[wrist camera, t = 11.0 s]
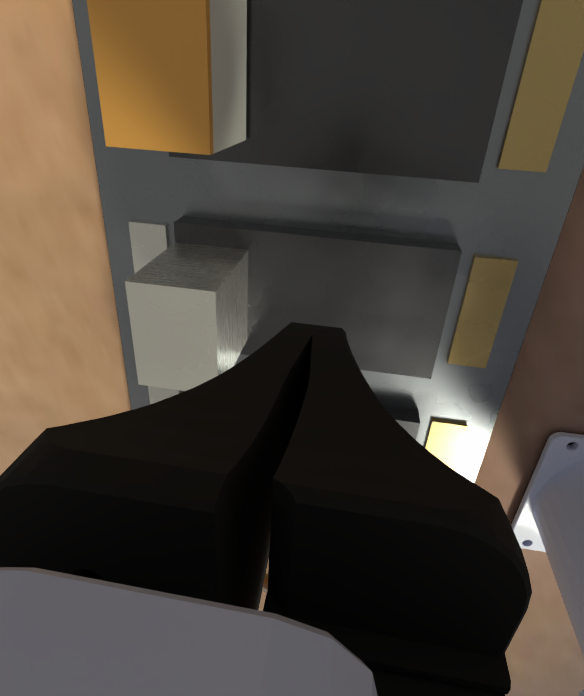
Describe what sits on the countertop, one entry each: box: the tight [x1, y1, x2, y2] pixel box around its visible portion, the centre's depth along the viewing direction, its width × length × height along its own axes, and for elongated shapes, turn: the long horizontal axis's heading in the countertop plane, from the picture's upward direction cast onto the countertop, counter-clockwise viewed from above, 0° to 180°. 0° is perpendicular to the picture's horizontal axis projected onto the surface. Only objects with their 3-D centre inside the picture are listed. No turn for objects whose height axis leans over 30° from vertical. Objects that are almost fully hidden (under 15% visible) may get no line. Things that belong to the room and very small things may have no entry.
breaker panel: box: [72, 0, 584, 483], centre depth 18 cm, size 18×24×6 cm
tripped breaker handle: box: [87, 0, 247, 155], centre depth 14 cm, size 3×4×4 cm
